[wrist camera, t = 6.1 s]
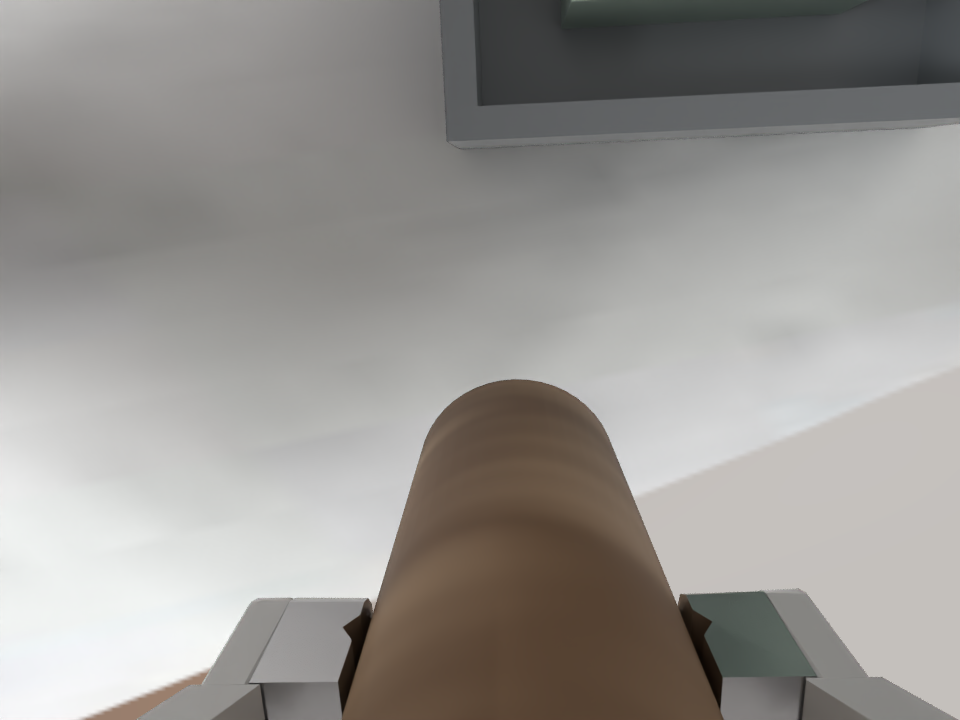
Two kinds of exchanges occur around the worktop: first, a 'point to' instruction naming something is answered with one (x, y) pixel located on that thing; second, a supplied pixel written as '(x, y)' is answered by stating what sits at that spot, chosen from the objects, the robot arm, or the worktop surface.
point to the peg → (525, 579)
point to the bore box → (694, 68)
